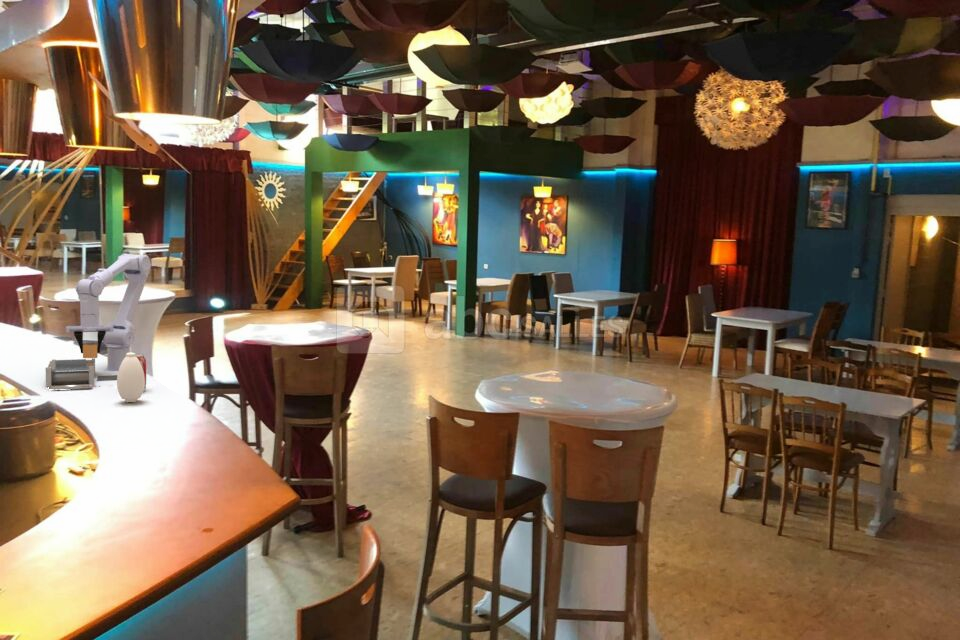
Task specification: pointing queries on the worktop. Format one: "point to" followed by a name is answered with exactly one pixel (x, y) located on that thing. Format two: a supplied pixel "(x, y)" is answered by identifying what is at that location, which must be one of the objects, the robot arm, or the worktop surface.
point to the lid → (71, 365)
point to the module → (90, 350)
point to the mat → (107, 378)
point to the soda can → (142, 364)
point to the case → (70, 376)
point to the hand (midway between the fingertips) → (90, 352)
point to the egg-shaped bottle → (130, 378)
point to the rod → (72, 386)
